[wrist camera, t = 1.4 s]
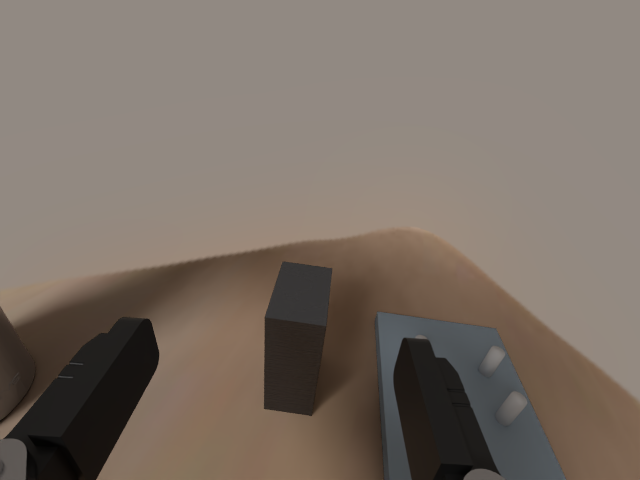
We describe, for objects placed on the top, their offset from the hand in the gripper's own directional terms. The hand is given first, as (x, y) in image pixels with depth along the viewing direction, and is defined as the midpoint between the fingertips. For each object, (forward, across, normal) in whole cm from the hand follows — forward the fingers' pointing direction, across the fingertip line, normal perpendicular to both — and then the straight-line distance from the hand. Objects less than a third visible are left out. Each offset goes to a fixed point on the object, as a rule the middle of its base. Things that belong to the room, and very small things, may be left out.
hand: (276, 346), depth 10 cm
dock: (+11, -14, +18) cm, 26 cm away
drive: (+12, 0, +18) cm, 21 cm away
